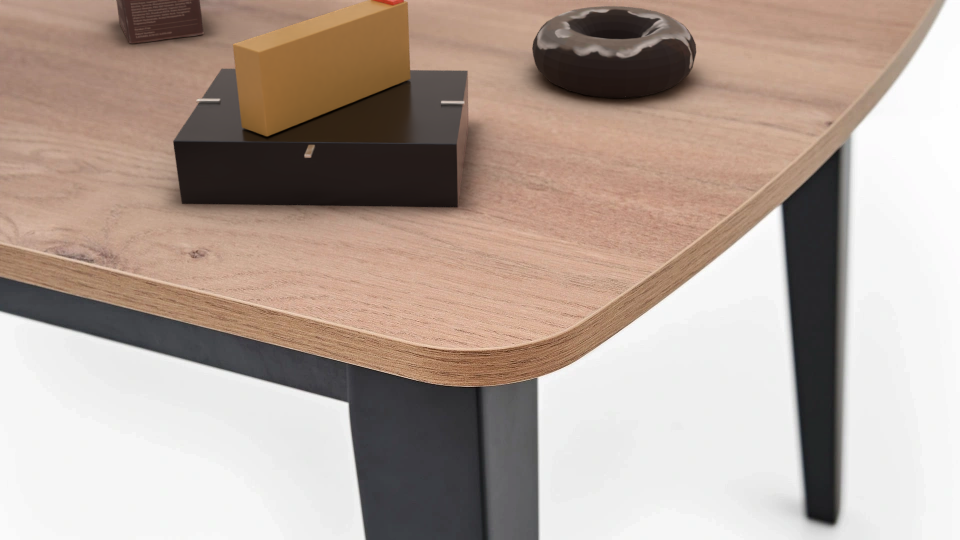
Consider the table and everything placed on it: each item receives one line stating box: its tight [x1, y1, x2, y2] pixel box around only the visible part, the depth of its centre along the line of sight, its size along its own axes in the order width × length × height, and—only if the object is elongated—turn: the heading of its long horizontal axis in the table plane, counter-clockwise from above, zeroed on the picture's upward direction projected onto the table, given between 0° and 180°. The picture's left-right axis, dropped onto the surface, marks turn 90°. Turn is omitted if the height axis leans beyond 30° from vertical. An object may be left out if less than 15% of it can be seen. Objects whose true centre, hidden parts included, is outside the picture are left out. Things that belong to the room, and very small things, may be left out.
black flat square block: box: [172, 68, 469, 208], centre depth 74 cm, size 16×16×4 cm
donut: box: [531, 5, 697, 99], centre depth 87 cm, size 12×12×4 cm
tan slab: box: [232, 0, 411, 136], centre depth 72 cm, size 12×2×5 cm, turn 140°
